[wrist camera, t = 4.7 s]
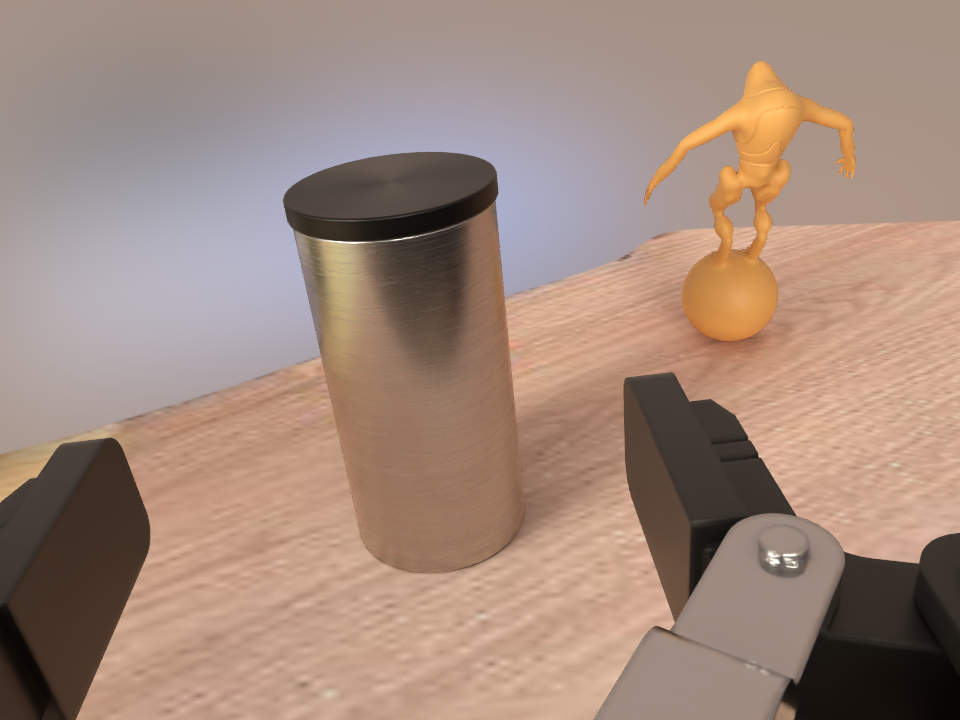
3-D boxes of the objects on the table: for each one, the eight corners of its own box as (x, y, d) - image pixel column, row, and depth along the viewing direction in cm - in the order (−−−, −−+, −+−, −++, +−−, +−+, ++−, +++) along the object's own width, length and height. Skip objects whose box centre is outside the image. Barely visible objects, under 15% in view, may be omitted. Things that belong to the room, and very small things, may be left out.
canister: (350, 586, 25) (265, 230, 20) (362, 472, 31) (298, 164, 25) (537, 564, 25) (505, 203, 20) (518, 455, 31) (488, 142, 25)
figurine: (798, 304, 39) (824, 33, 33) (863, 366, 33) (908, 56, 28) (624, 328, 38) (619, 58, 33) (662, 395, 33) (665, 87, 27)
